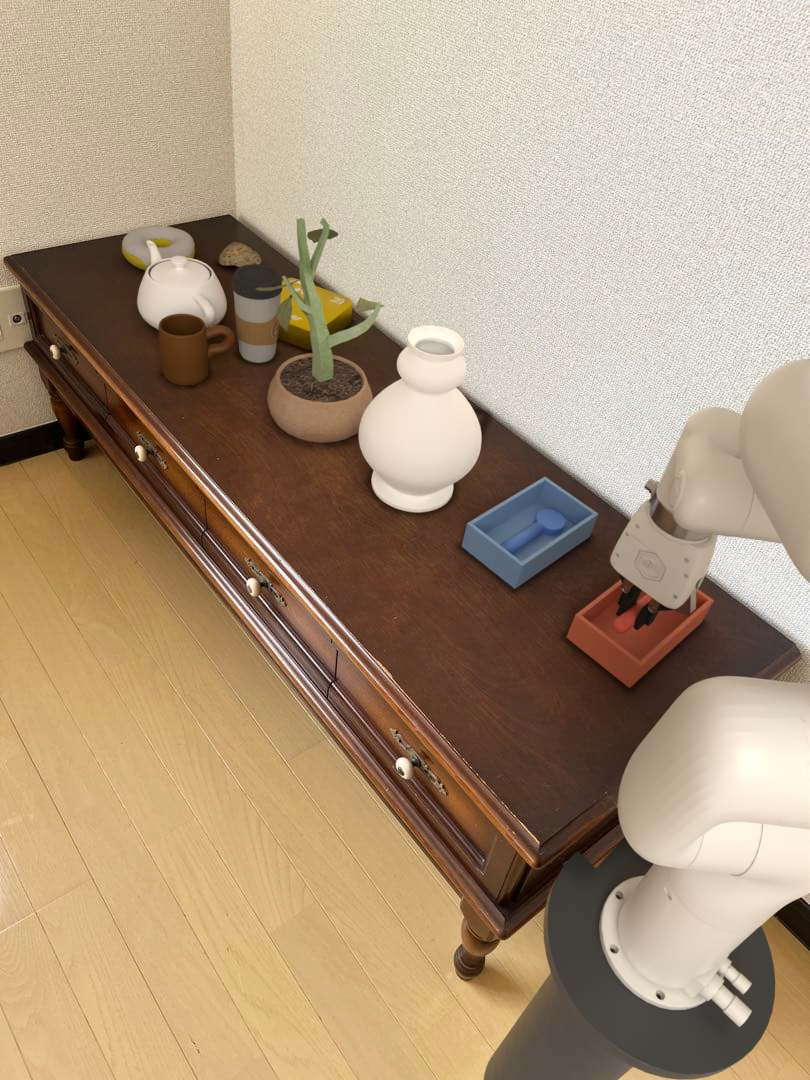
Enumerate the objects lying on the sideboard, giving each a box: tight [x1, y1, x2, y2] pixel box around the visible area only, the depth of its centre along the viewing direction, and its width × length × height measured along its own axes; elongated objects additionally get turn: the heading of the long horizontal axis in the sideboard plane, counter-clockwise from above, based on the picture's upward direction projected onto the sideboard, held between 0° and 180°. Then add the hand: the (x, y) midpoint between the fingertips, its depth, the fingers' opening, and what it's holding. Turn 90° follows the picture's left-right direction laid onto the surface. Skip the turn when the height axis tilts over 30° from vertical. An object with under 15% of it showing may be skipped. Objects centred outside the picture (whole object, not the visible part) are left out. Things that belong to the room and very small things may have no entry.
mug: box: [158, 314, 235, 387], centre depth 135 cm, size 12×8×9 cm, turn 102°
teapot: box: [136, 240, 228, 331], centre depth 146 cm, size 25×16×12 cm, turn 36°
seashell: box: [218, 241, 263, 268], centre depth 167 cm, size 8×6×8 cm
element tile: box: [277, 277, 354, 351], centre depth 153 cm, size 15×15×5 cm
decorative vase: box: [358, 324, 482, 513], centre depth 116 cm, size 18×18×25 cm
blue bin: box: [461, 476, 599, 590], centre depth 117 cm, size 17×10×5 cm, turn 133°
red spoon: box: [612, 594, 652, 634], centre depth 105 cm, size 14×4×2 cm, turn 133°
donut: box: [121, 225, 196, 272], centre depth 163 cm, size 14×14×5 cm
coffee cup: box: [231, 263, 283, 364], centre depth 140 cm, size 8×8×15 cm
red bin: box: [565, 579, 715, 689], centre depth 107 cm, size 17×10×5 cm, turn 133°
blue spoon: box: [500, 509, 566, 554], centre depth 118 cm, size 14×4×2 cm, turn 133°
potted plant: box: [256, 217, 386, 444], centre depth 126 cm, size 22×18×30 cm
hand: (633, 616), depth 104 cm, fingers closed on red spoon, 2 cm apart
